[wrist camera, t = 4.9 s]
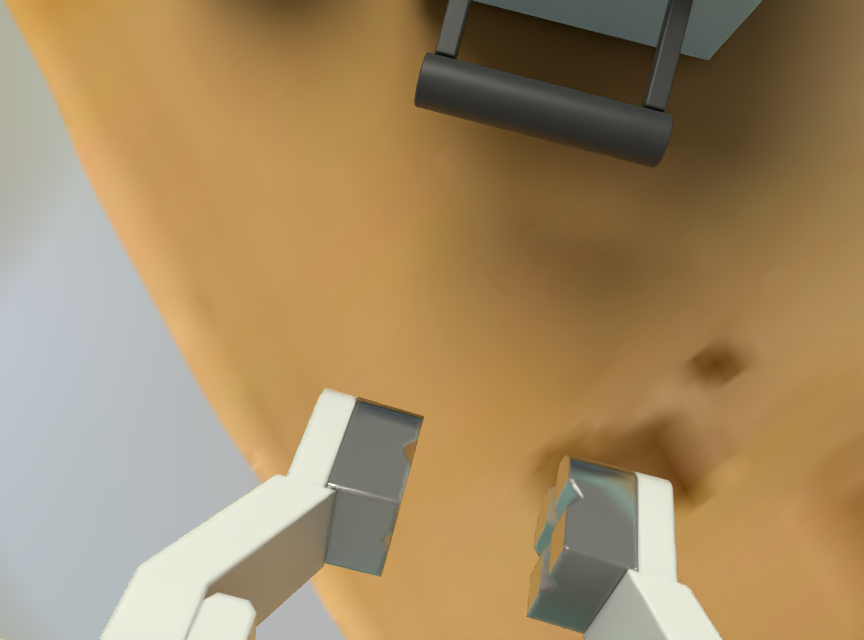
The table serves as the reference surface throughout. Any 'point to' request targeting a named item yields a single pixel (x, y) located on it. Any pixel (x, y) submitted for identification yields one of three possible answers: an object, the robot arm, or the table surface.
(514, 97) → the blue drawer
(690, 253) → the table surface
